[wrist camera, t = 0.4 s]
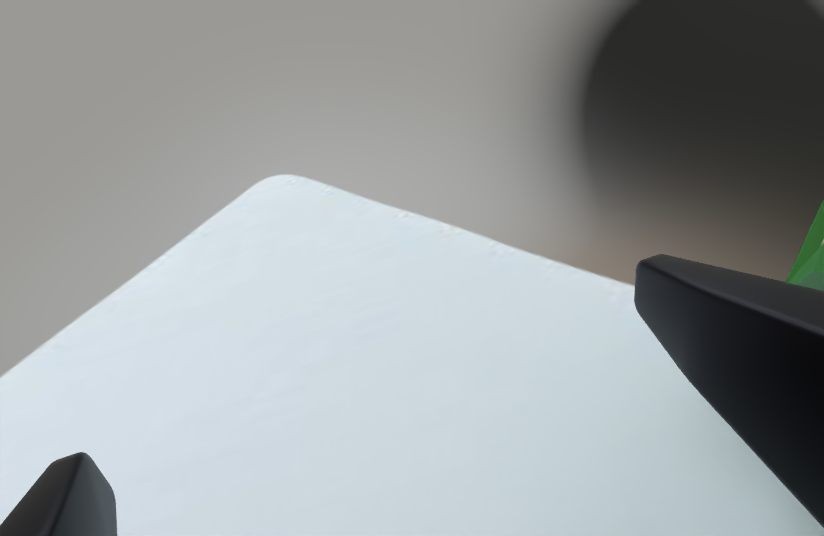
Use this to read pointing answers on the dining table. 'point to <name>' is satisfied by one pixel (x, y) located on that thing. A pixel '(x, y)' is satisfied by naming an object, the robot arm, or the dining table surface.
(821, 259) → the hardback book
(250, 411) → the dining table surface
